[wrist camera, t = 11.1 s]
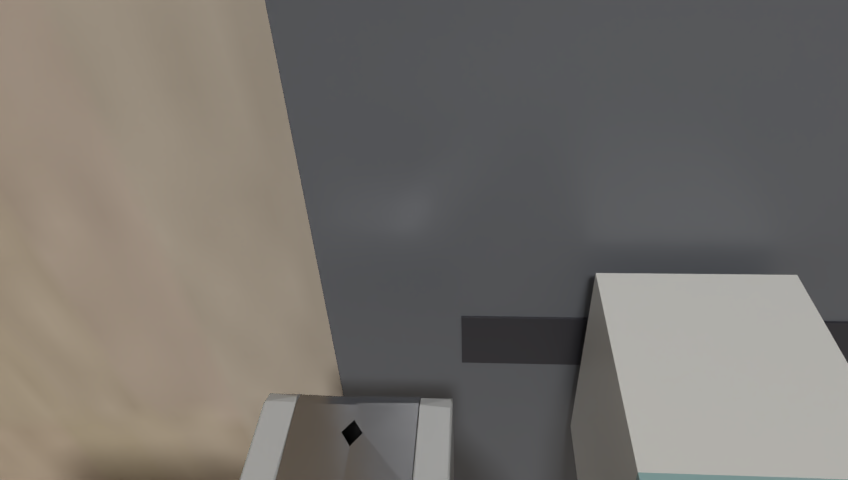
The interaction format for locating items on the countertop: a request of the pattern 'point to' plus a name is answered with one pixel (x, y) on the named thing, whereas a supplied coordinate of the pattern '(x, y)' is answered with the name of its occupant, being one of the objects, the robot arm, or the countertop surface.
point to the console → (552, 183)
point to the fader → (708, 381)
